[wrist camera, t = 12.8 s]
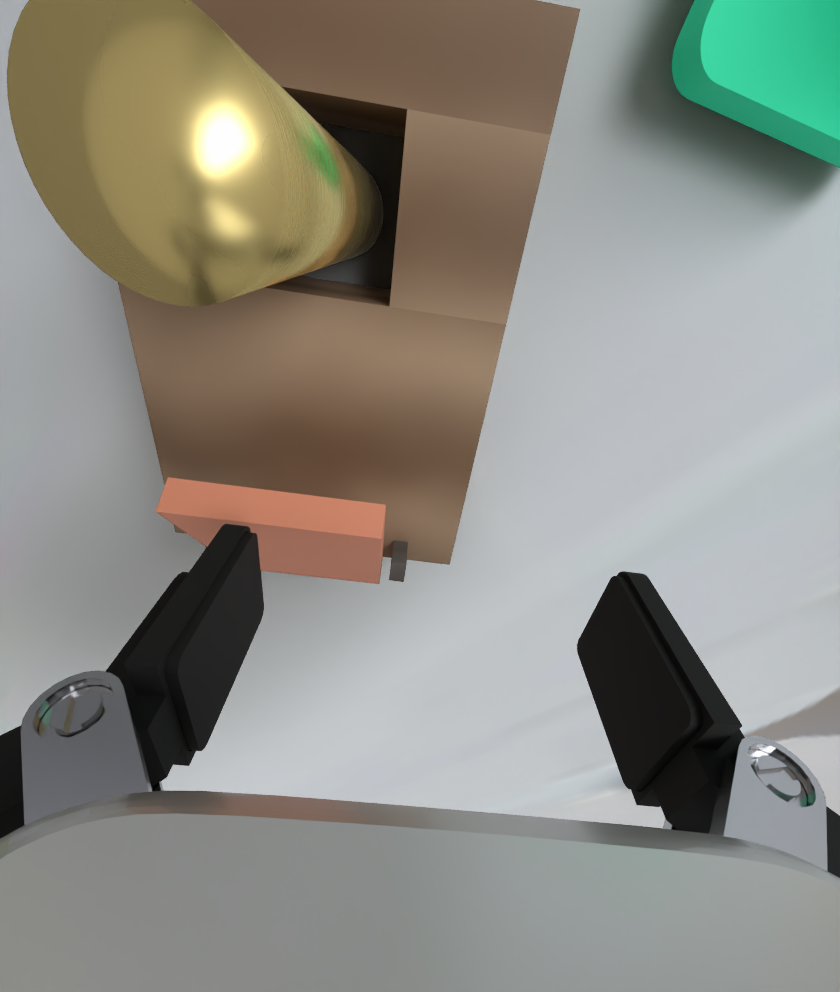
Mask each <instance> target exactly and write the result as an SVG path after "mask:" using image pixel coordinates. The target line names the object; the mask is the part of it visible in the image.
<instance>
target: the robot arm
mask: <svg viewBox="0 0 840 992" xmlns="http://www.w3.org/2000/svg"><path fill="white" fill-rule="evenodd" d="M263 611H264V602H263V591H262V580H261V570H260V559H259V548H258V537H257V534H256V533H251V530H250V528H249V527H248V526H241V525H233V524H224V525H223V526H222V527H221V528H220V530H219V531H218V532H217V534H216V535H215V537H214V538H213V540H212V541H211V542H210V544H209V545H208V547H207V548H206V549H205V551H204V552H203V554H202V555H201V556H200V558H199V559H198V561H197V562H196V563H195V565H194V566H193V568H192V569H191V570H190V572H189V573H188V572H182V573H180V574H178V576H177V577H176V578H175V579H174V580H173V581H172V583H171V584H170V585H169V587H168V588H167V589H166V591H165V592H164V593H163V595H162V596H161V597H160V599H159V600H158V601H157V603H156V604H155V606H154V607H153V608H152V610H151V611H150V612H149V614H148V615H147V616H146V618H145V619H144V620H143V622H142V623H141V624H140V626H139V627H138V628H137V630H136V631H135V632H134V634H133V635H132V637H131V638H130V639H129V641H128V642H127V643H126V645H125V646H124V647H123V649H122V650H121V651H120V653H119V654H118V655H117V657H116V658H115V659H114V661H113V662H112V663H111V665H110V666H109V668H108V669H107V670H106V672H104V671H90V672H84V673H80V674H77V675H74V676H70V677H68V678H66V679H64V680H62V681H60V682H58V683H56V684H55V685H53V686H52V687H51V688H49V689H48V690H46V691H45V692H44V693H42V694H41V695H40V696H39V697H38V698H37V699H36V700H35V701H34V703H33V704H32V705H31V706H30V707H29V709H28V711H27V712H26V714H25V716H24V718H23V721H22V725H21V726H19V727H17V728H15V729H13V730H11V731H9V732H7V733H5V734H3V735H0V992H840V816H839V815H838V814H836V813H835V812H834V811H832V810H831V809H830V808H828V807H827V806H826V800H825V796H824V792H823V790H822V788H821V786H820V784H819V782H818V780H817V779H816V777H815V776H814V775H813V774H812V772H811V771H810V770H809V768H808V767H807V766H806V765H805V764H804V763H803V762H802V761H801V760H800V759H799V758H798V757H797V756H796V755H794V754H793V753H791V752H790V751H789V750H787V749H786V748H785V747H783V746H782V745H780V744H778V743H776V742H774V741H772V740H770V739H767V738H764V737H760V736H748V737H746V738H745V737H744V736H743V734H742V732H741V731H740V728H741V727H742V724H741V723H740V721H739V720H738V718H737V717H736V715H735V713H734V712H733V710H732V709H731V707H730V706H729V704H728V702H727V701H726V699H725V698H724V696H723V695H722V693H721V691H720V690H719V688H718V687H717V685H716V684H715V682H714V680H713V679H712V677H711V676H710V674H709V673H708V671H707V669H706V668H705V666H704V665H703V663H702V662H701V660H700V658H699V657H698V655H697V654H696V652H695V651H694V649H693V647H692V646H691V644H690V643H689V641H688V640H687V638H686V636H685V635H684V633H683V632H682V630H681V629H680V627H679V625H678V624H677V622H676V621H675V619H674V618H673V616H672V614H671V613H670V611H669V610H668V608H667V607H666V605H665V603H664V602H663V600H662V599H661V597H660V596H659V594H658V592H657V591H656V589H655V588H654V586H653V585H652V583H651V581H650V580H649V578H648V577H647V576H646V575H644V574H640V573H631V572H620V573H618V575H617V576H613V577H612V578H611V579H610V581H609V583H608V585H607V587H606V589H605V591H604V593H603V594H602V596H601V598H600V600H599V602H598V604H597V606H596V608H595V610H594V612H593V614H592V615H591V617H590V619H589V621H588V623H587V625H586V627H585V629H584V631H583V633H582V634H581V636H580V638H579V640H578V644H577V651H578V655H579V658H580V661H581V664H582V667H583V670H584V672H585V675H586V678H587V681H588V684H589V687H590V689H591V692H592V695H593V698H594V701H595V704H596V706H597V709H598V712H599V715H600V718H601V721H602V723H603V726H604V729H605V732H606V735H607V738H608V740H609V743H610V746H611V749H612V752H613V754H614V757H615V760H616V763H617V766H618V769H619V771H620V774H621V777H622V780H623V782H624V784H625V786H626V787H627V788H628V789H631V790H632V793H633V796H634V799H635V801H636V804H637V805H643V806H655V807H660V806H661V808H662V810H663V813H664V815H665V818H666V819H665V822H664V826H663V829H661V828H652V827H643V826H632V825H621V824H610V823H599V822H588V821H577V820H565V819H554V818H543V817H532V816H520V815H509V814H497V813H485V812H473V811H462V810H450V809H438V808H426V807H414V806H402V805H390V804H377V803H364V802H352V801H339V800H327V799H314V798H301V797H289V796H275V795H258V794H242V793H225V792H209V791H163V787H162V783H161V781H162V780H163V779H165V778H166V777H167V776H168V774H169V771H170V769H171V767H172V765H173V764H174V765H185V766H189V765H190V763H191V760H192V758H193V756H194V754H195V752H196V751H202V750H203V749H204V748H205V746H206V745H207V743H208V740H209V738H210V736H211V734H212V731H213V729H214V727H215V724H216V722H217V720H218V718H219V715H220V713H221V711H222V708H223V706H224V704H225V702H226V699H227V697H228V695H229V692H230V690H231V688H232V686H233V683H234V681H235V679H236V676H237V674H238V672H239V670H240V667H241V665H242V663H243V660H244V658H245V656H246V654H247V651H248V649H249V647H250V644H251V642H252V640H253V638H254V635H255V633H256V631H257V628H258V626H259V624H260V622H261V619H262V616H263Z"/></svg>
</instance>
